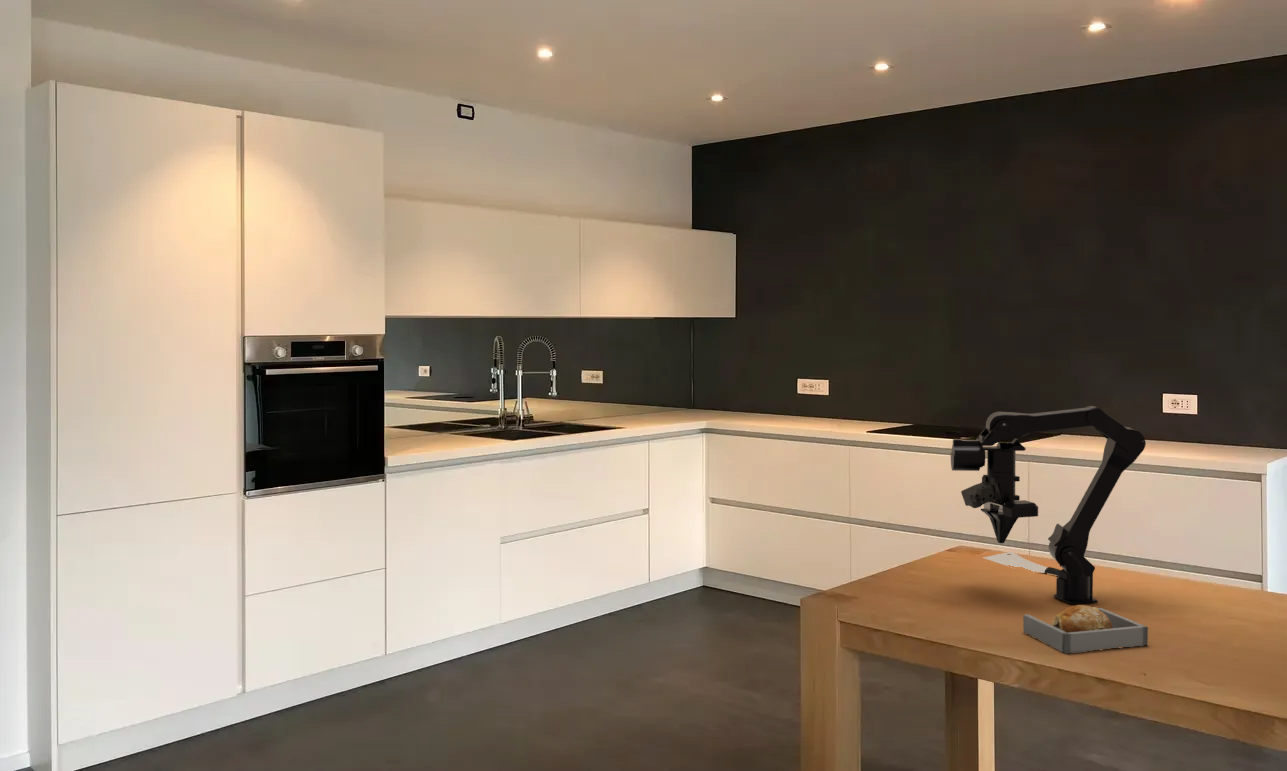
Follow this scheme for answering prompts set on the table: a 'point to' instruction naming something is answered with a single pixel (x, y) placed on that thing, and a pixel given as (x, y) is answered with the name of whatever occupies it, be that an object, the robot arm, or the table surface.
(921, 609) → the table surface
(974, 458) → the robot arm
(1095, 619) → the bread roll
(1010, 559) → the kitchen cleaver
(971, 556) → the table surface
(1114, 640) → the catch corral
